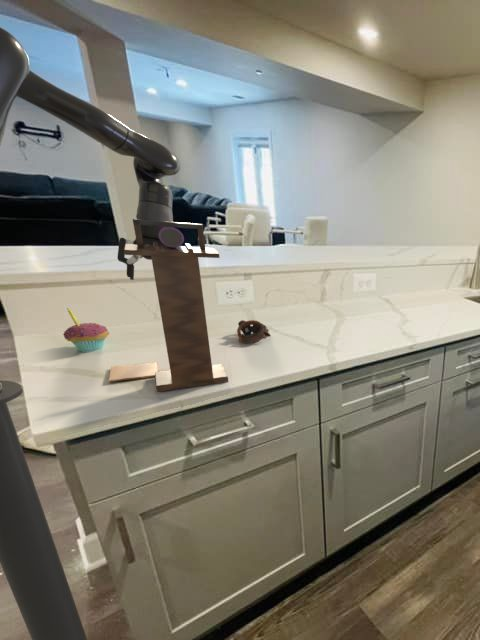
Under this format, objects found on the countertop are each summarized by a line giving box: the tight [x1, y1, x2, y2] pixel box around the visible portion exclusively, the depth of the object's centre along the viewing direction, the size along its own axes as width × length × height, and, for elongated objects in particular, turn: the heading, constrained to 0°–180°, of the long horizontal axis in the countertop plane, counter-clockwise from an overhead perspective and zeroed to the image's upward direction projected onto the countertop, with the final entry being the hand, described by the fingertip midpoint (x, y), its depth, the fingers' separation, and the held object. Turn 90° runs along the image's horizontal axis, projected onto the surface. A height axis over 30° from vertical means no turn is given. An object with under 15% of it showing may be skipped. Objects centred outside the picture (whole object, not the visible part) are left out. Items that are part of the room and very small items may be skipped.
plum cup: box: [157, 226, 185, 248], centre depth 89 cm, size 12×4×4 cm, turn 39°
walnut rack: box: [124, 218, 229, 392], centre depth 90 cm, size 16×9×38 cm, turn 129°
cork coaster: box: [108, 361, 159, 383], centre depth 96 cm, size 9×9×1 cm
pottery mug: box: [236, 319, 271, 345], centre depth 123 cm, size 12×10×8 cm
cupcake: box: [62, 307, 110, 353], centre depth 103 cm, size 9×8×12 cm
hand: (152, 282), depth 104 cm, fingers open, 8 cm apart
